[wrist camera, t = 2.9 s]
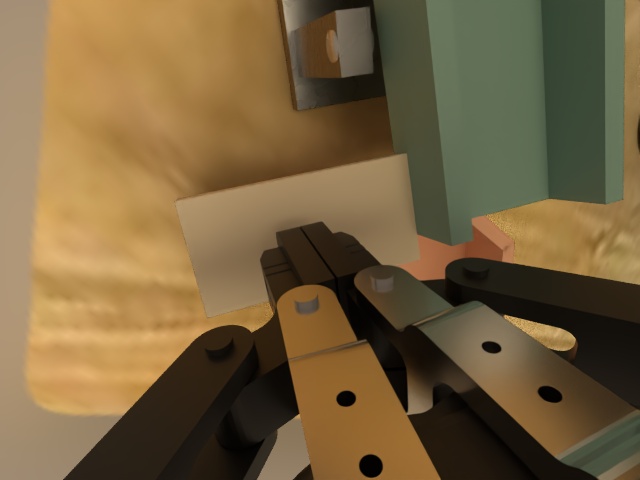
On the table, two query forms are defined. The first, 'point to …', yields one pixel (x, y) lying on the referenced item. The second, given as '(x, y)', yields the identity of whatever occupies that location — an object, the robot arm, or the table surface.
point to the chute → (443, 139)
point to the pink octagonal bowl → (461, 250)
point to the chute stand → (331, 51)
